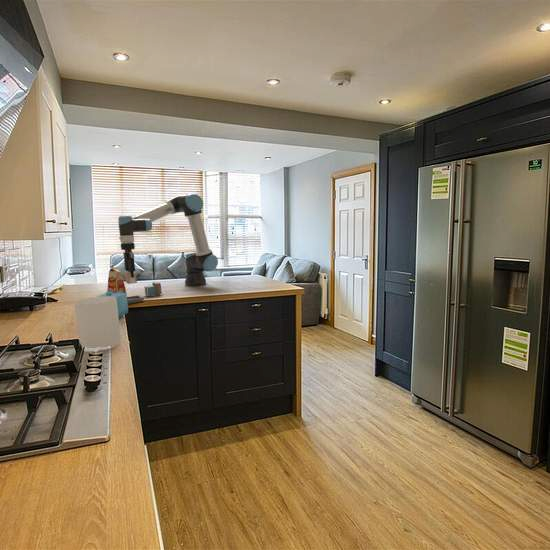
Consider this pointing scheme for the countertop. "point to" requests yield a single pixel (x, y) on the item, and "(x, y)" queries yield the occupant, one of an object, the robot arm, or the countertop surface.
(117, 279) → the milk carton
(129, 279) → the stub
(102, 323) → the container
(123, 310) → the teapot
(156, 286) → the teal brown block
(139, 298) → the tray
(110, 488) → the countertop surface
